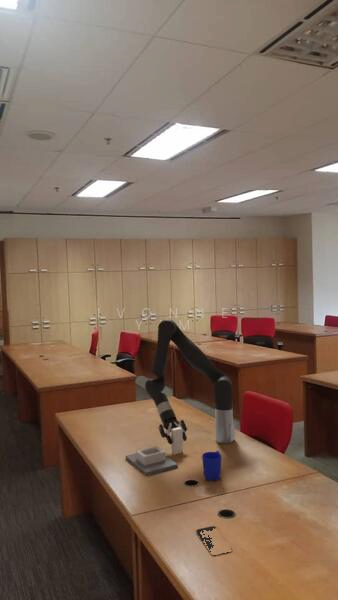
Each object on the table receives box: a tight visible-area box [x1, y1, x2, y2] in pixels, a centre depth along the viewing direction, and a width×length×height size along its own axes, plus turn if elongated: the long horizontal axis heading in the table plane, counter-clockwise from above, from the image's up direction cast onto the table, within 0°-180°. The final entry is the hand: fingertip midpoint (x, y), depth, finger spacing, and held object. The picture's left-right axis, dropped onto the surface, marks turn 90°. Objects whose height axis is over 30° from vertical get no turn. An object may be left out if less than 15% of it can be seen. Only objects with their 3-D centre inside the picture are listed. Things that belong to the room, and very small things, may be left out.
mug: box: [201, 450, 222, 482], centre depth 198 cm, size 8×12×10 cm
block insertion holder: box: [125, 445, 179, 476], centre depth 214 cm, size 22×16×6 cm
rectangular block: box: [170, 427, 184, 455], centre depth 226 cm, size 2×5×12 cm, turn 120°
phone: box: [195, 525, 217, 552], centre depth 150 cm, size 7×1×15 cm
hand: (178, 441), depth 224 cm, fingers open, 7 cm apart
